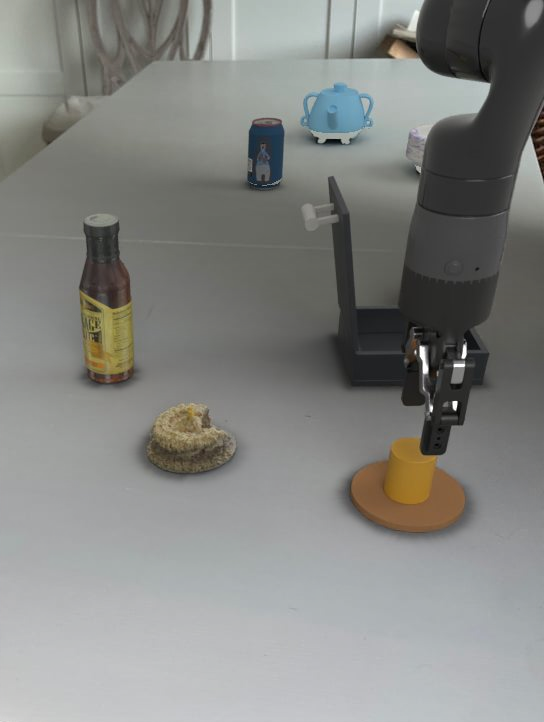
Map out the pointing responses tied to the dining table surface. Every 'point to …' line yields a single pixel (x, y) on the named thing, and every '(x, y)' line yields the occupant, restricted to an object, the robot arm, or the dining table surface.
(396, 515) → the coaster
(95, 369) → the sauce bottle
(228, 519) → the dining table surface
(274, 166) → the soda can
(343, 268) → the lid
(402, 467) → the orange cylinder
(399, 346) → the grey storage bin
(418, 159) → the paper bowls
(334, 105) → the teapot
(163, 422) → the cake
